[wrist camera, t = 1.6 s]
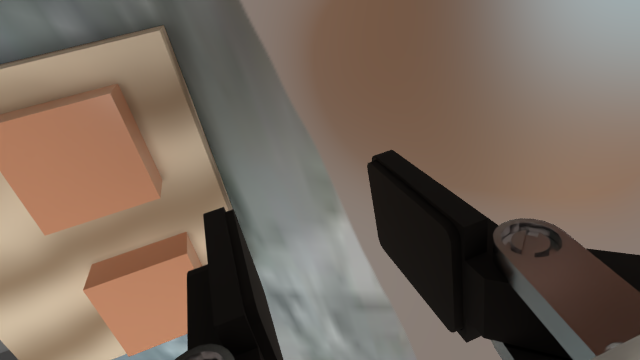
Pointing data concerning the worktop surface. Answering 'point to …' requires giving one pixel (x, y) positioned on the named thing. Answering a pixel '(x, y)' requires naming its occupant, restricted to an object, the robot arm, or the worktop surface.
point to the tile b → (144, 292)
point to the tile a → (77, 159)
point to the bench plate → (112, 230)
